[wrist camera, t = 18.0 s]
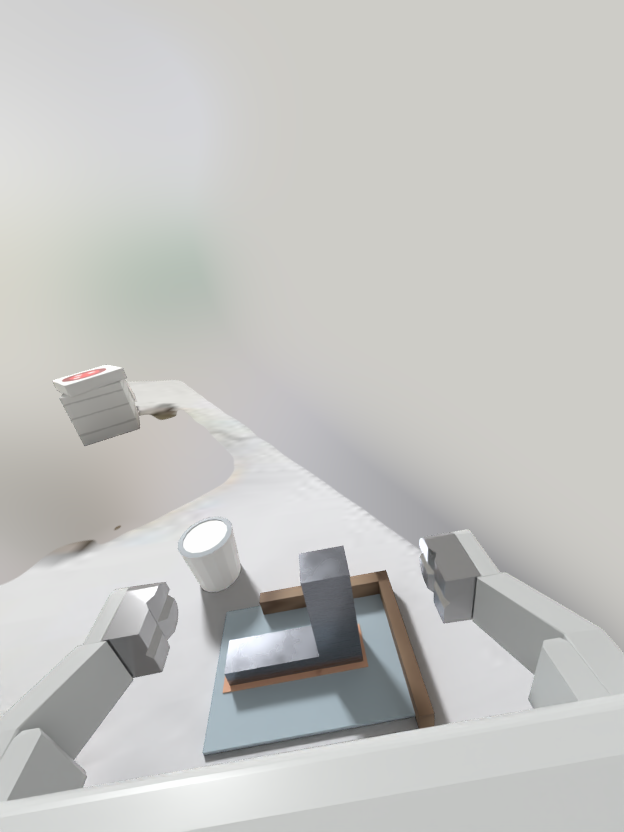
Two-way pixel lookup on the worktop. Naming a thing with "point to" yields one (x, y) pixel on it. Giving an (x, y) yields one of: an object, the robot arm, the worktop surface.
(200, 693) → the worktop surface
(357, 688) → the mat
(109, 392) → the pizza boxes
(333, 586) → the bracket
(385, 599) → the corner walls
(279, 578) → the worktop surface
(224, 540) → the white cylinder
